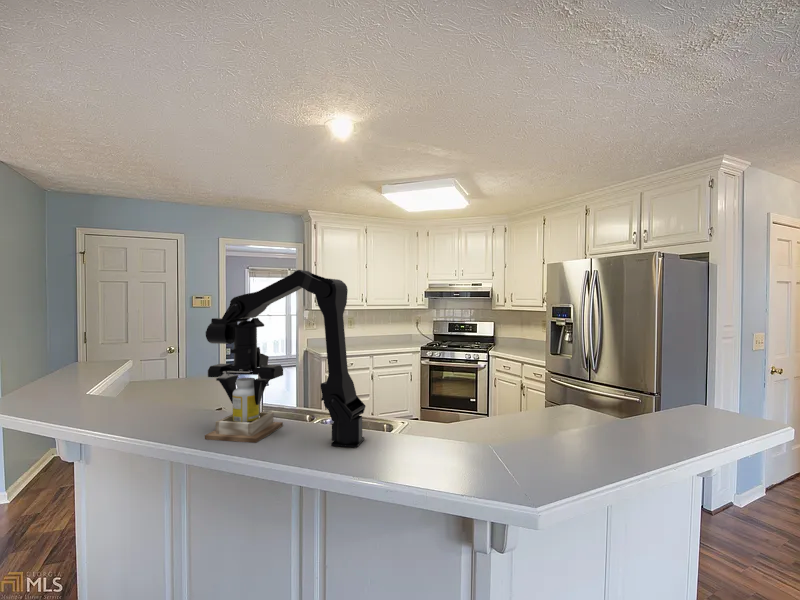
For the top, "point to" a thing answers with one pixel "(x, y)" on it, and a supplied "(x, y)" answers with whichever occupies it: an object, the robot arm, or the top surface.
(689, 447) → the top surface
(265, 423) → the pocket tray
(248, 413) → the pill bottle
